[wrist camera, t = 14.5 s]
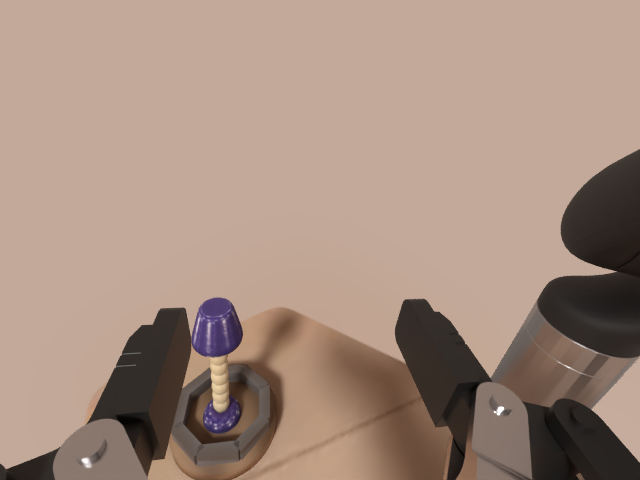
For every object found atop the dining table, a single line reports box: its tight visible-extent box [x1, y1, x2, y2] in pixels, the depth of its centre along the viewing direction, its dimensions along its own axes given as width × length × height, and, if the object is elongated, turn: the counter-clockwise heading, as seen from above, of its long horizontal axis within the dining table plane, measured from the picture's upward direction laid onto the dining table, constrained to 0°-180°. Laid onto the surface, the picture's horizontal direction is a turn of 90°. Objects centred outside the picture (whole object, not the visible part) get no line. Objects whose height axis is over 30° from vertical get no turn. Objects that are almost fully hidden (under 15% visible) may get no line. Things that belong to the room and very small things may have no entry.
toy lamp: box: [191, 298, 243, 434], centre depth 31 cm, size 5×5×17 cm
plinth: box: [169, 364, 276, 480], centre depth 36 cm, size 12×12×4 cm
